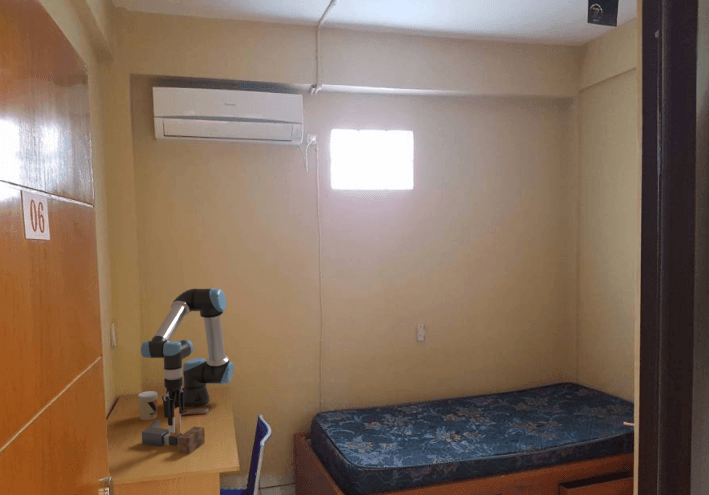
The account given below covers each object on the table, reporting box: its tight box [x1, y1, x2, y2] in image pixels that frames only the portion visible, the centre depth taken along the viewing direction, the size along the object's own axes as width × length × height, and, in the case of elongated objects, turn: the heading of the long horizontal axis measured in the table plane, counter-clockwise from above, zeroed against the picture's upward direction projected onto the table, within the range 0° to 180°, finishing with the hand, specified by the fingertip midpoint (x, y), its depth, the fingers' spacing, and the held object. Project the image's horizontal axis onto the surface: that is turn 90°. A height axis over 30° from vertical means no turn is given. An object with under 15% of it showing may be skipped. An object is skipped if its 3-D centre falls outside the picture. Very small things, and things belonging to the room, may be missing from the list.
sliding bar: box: [162, 405, 183, 447], centre depth 235 cm, size 4×20×16 cm, turn 73°
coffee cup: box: [137, 390, 159, 421], centre depth 269 cm, size 9×9×12 cm
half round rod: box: [150, 420, 162, 428], centre depth 252 cm, size 4×20×2 cm, turn 9°
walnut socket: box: [177, 426, 206, 456], centre depth 232 cm, size 12×5×7 cm, turn 163°
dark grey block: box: [141, 426, 170, 448], centre depth 237 cm, size 6×10×6 cm, turn 73°
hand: (175, 430), depth 234 cm, fingers closed on sliding bar, 4 cm apart
